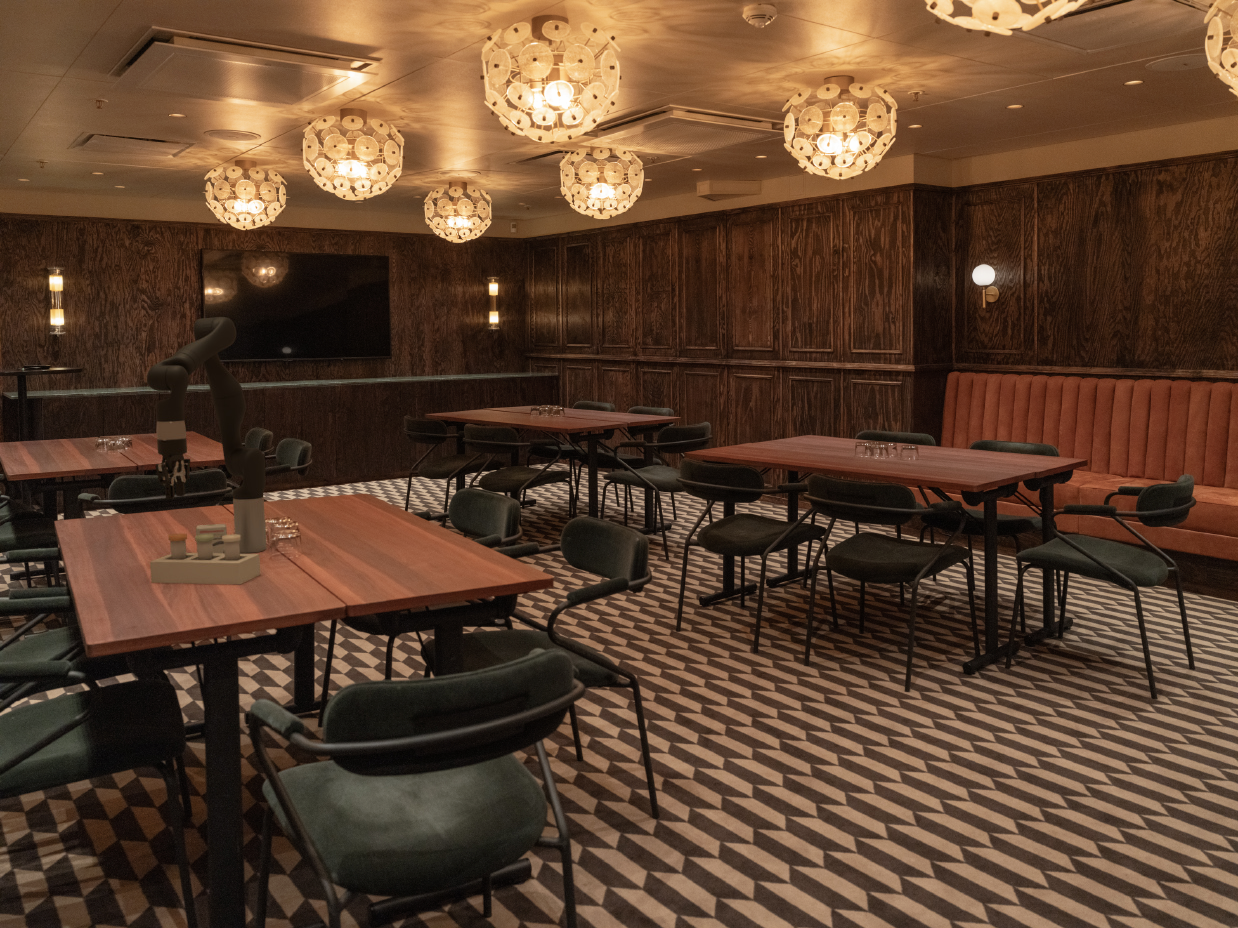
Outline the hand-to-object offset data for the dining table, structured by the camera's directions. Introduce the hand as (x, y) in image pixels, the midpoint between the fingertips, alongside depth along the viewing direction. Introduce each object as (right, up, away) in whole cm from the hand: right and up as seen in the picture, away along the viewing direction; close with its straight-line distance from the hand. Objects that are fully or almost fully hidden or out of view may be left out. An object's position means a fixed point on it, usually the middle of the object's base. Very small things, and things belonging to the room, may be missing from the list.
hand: (175, 497), depth 277 cm
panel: (+8, -23, +2) cm, 25 cm away
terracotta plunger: (0, -19, +2) cm, 19 cm away
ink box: (+2, -21, +21) cm, 30 cm away
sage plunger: (+8, -19, +1) cm, 21 cm away
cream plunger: (+16, -19, 0) cm, 25 cm away
